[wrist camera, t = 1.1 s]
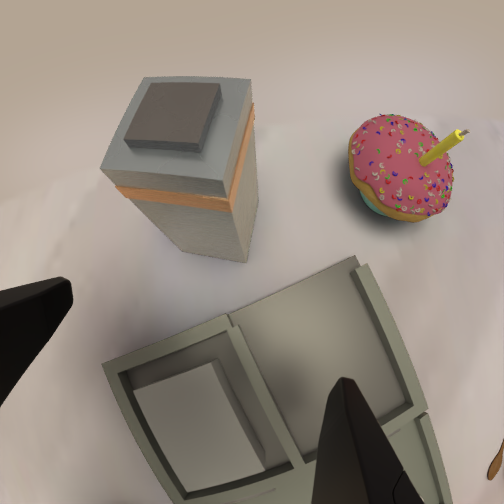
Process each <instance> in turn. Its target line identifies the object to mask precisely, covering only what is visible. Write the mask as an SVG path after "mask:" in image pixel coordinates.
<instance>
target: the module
mask: <svg viewBox="0 0 504 504" xmlns="http://www.w3.org/2000/svg"><path fill="white" fill-rule="evenodd" d="M254 120H255V115H254V103H252V88H251V79H240V78H223V77H195V76H193V77H192V76H191V77H190V76H176V77H146V78H143V80H142V82H141V84H140V85H139V87H138V89H137V91H136V93H135V95H134V97H133V98H132V100H131V102H130V104H129V106H128V108H127V110H126V112H125V114H124V116H123V118H122V120H121V122H120V124H119V126H118V128H117V130H116V132H115V134H114V137H113V139H112V141H111V143H110V146H109V148H108V150H107V152H106V155H105V157H104V159H103V162H102V164H101V167H100V169H101V170H102V172H103V173H104V174H105V175H106V176H107V177H108V178H109V179H110V180H111V181H112V182H113V183H114V184H115V185H116V186H115V187H116V188H117V189H118V190H119V191H120V192H121V193H122V194H123V195H124V196H125V197H126V198H129V199H130V200H131V201H132V202H133V203H134V205H135V206H136V207H137V208H138V209H139V210H140V211H141V212H142V213H143V214H144V215H145V216H146V217H147V218H148V219H149V220H150V221H151V222H153V223H154V224H155V225H156V226H157V227H158V228H159V229H160V230H161V231H162V232H163V233H164V234H165V235H166V236H167V237H168V238H169V239H170V240H171V241H172V242H173V243H174V244H175V245H176V246H177V247H178V248H179V249H180V250H181V251H182V252H187V253H193V254H198V255H204V256H209V257H215V258H220V259H226V260H231V261H237V262H242V263H246V262H247V257H248V252H249V247H250V242H251V237H252V232H253V227H254V222H255V217H256V212H257V207H258V185H257V168H256V151H255V135H254Z"/></svg>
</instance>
